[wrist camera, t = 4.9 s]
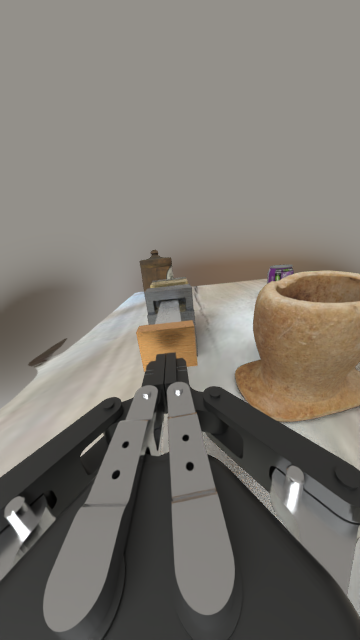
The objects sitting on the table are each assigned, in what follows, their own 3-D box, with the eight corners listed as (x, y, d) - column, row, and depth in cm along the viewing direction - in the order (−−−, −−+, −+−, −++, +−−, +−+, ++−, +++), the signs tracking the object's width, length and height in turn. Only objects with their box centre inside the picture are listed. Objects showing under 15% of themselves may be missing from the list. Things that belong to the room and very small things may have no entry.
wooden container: (179, 297, 82) (174, 247, 74) (148, 303, 78) (139, 250, 70) (170, 293, 95) (165, 249, 88) (143, 297, 91) (135, 252, 84)
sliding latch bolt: (197, 365, 16) (194, 326, 15) (144, 371, 16) (136, 332, 15) (184, 311, 33) (182, 290, 31) (158, 314, 33) (154, 293, 31)
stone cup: (275, 459, 16) (295, 294, 11) (226, 375, 27) (224, 276, 22) (423, 427, 17) (505, 265, 12) (317, 360, 28) (336, 262, 23)
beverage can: (280, 307, 54) (284, 267, 50) (261, 303, 60) (263, 267, 56) (295, 303, 56) (299, 264, 52) (275, 299, 63) (278, 264, 59)
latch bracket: (197, 356, 33) (192, 287, 28) (155, 361, 33) (143, 292, 28) (189, 325, 47) (185, 277, 43) (160, 329, 47) (152, 280, 43)
